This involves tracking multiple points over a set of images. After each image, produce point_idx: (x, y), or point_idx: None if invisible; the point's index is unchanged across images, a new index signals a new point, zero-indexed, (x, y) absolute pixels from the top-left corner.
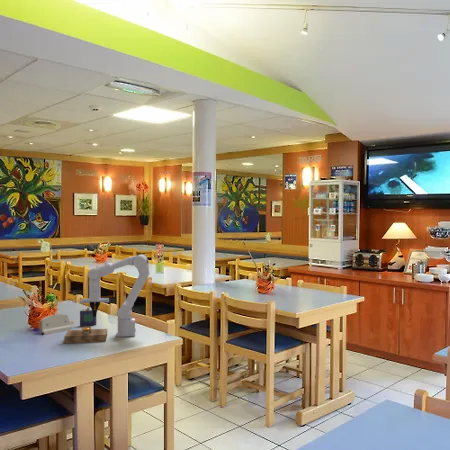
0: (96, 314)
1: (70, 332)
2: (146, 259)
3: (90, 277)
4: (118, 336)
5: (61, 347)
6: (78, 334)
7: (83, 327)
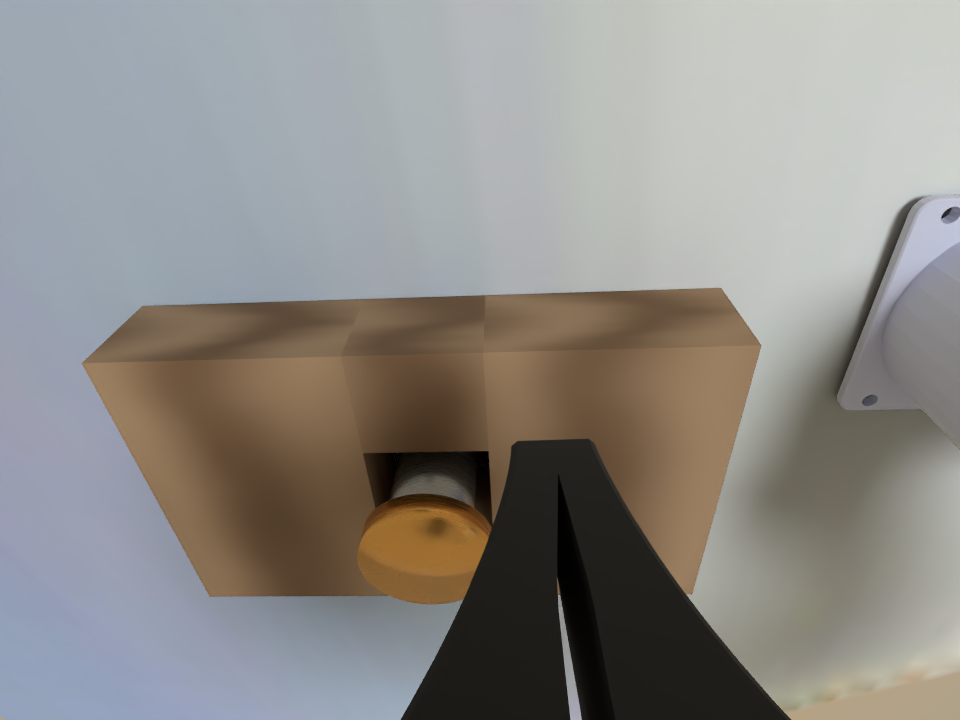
0: (602, 462)
1: (196, 474)
2: None
3: None
4: (862, 407)
5: (269, 608)
6: (348, 557)
7: (371, 542)
